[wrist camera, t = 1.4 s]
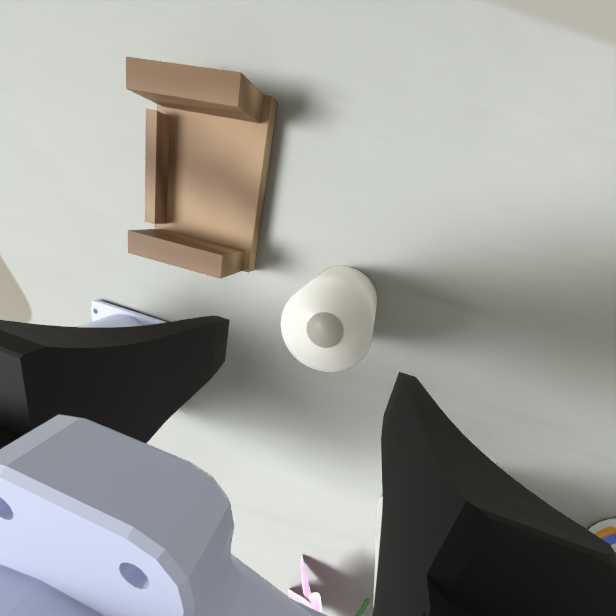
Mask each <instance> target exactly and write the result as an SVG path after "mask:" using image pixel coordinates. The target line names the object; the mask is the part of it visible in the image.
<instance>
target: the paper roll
mask: <svg viewBox="0 0 616 616" xmlns="http://www.w3.org/2000/svg"><path fill="white" fill-rule="evenodd" d="M376 307H377V295H376V291H375V288H374V286H373V284H372V282H371V281H370V280H369V278H368V277H367V276H366V275H364V274H363V273H362V272H360V271H359V270H357V269H354V268H351V267H347V266H336V267H331V268H329V269H326V270H324V271H323V272H321V273H320V274H319V275H318V276H316V277H315V278H314V279H313V280H311V281H310V282H309V283H308V284H307V285H305V286H304V287H303V288H302V289H300V290H299V291H298V292H297V293H296V294H294V295H293V296H292V297H291V298H290V300H289V301H288V302H287V304H286V306H285V308H284V310H283V313H282V317H281V332H282V336H283V339H284V342H285V344H286V346H287V348H288V349H289V351H290V352H291V353H292V355H293V356H294V357H295V358H296V359H298V360H299V361H300V362H301V363H303V364H304V365H306V366H308V367H310V368H313V369H315V370H319V371H324V372H337V371H342V370H345V369H348V368H350V367H352V366H354V365H355V364H357V363H358V362H359V361H360V360H361V359H362V358H363V357H364V356H365V355H366V353H367V351H368V350H369V347H370V345H371V341H372V337H373V329H374V322H375V314H376Z"/></svg>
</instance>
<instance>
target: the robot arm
mask: <svg viewBox="0 0 616 616" xmlns="http://www.w3.org/2000/svg"><path fill="white" fill-rule="evenodd" d="M91 310H92V322H90V323H87V324H84V325H81V326H78V327H62V326H49V325H38V324H29V323H21V322H13V321H4V320H0V616H327V615H325V614H323V613H320V612H318V611H316V610H314V609H312V608H310V607H308V606H306V605H304V604H302V603H299V602H297V601H295V600H293V599H291V598H289V597H288V596H286V595H285V594H284V593H282V592H281V591H280V590H279V589H277V588H276V587H275V586H273V585H272V584H271V583H269V582H268V581H267V580H265V579H264V578H263V577H261V576H260V575H259V574H257V573H256V572H255V571H253V570H252V569H251V568H249V567H248V566H247V565H245V564H244V563H243V562H241V561H240V560H239V559H238V558H236V557H235V556H234V555H232V554H231V542H232V536H233V530H234V523H233V517H232V511H231V505H230V501H229V499H228V497H227V496H226V494H225V493H224V491H223V490H222V489H221V487H220V486H219V485H218V483H217V482H216V480H215V479H214V478H213V477H212V476H211V475H209V474H208V473H206V472H205V471H203V470H202V469H200V468H199V467H197V466H196V465H194V464H192V463H191V462H189V461H187V460H184V459H182V458H179V457H177V456H175V455H172V454H170V453H167V452H165V451H163V450H160V449H158V448H155V447H153V446H151V445H148V444H146V443H147V442H148V441H149V440H150V439H151V437H152V436H153V435H154V434H155V433H156V432H157V431H158V429H159V428H160V427H161V426H162V425H163V424H164V423H165V422H166V421H167V420H168V419H169V418H170V417H171V416H172V415H173V414H174V413H175V412H176V411H177V410H178V409H179V408H180V407H181V406H182V405H183V404H184V403H185V402H187V401H188V400H189V399H190V398H191V397H192V396H193V395H194V394H195V393H196V392H197V391H198V390H200V389H201V388H202V387H203V386H204V385H205V384H206V383H207V382H208V381H209V380H210V379H211V378H212V377H213V376H214V374H215V373H216V372H217V371H218V369H219V368H220V367H221V366H222V364H223V363H224V362H225V354H226V346H227V337H228V329H229V320H228V319H225V318H222V317H218V316H207V317H199V318H193V319H186V320H180V321H174V322H167V323H166V322H165V321H162V320H159V319H156V318H153V317H150V316H147V315H143V314H140V313H137V312H134V311H131V310H128V309H125V308H122V307H119V306H115V305H112V304H109V303H106V302H103V301H100V300H95V301H92V303H91ZM97 310H98V311H97ZM381 450H382V487H383V507H382V521H381V535H380V546H379V558H378V569H377V579H376V589H375V599H374V608H373V616H616V553H615V551H614V550H613V548H612V547H611V545H610V544H609V543H607V542H606V541H604V540H603V539H601V538H600V537H598V536H596V535H595V534H593V533H592V532H590V531H589V530H587V529H585V528H584V527H582V526H581V525H579V524H578V523H576V522H574V521H573V520H571V519H570V518H568V517H567V516H565V515H563V514H562V513H560V512H559V511H557V510H556V509H554V508H553V507H551V506H550V505H549V504H547V503H546V502H544V501H543V500H542V499H540V498H539V497H537V496H536V495H535V494H533V493H532V492H530V491H529V490H528V489H526V488H525V487H524V486H522V485H521V484H520V483H518V482H517V481H516V480H514V479H513V478H512V477H511V476H509V475H508V474H507V473H506V472H504V471H503V470H502V469H501V468H500V467H498V466H497V465H496V464H495V463H493V462H492V461H491V460H490V459H489V458H488V457H487V456H485V455H484V454H483V453H482V452H481V451H480V450H479V449H478V448H477V447H476V446H475V445H474V444H473V443H472V442H470V441H469V440H468V439H467V438H466V437H465V436H464V435H463V434H462V433H461V432H460V430H459V429H458V428H457V427H456V426H455V425H454V424H453V423H452V422H451V420H450V419H449V418H448V417H447V416H446V415H445V414H444V412H443V411H442V410H441V409H440V408H439V406H438V405H437V404H436V402H435V401H434V400H433V399H432V397H431V396H430V395H429V393H428V392H427V391H426V389H425V388H424V387H423V386H422V384H421V383H420V382H419V380H418V379H417V378H416V377H414V376H410V375H407V374H404V373H401V372H399V374H398V377H397V380H396V383H395V385H394V388H393V391H392V394H391V396H390V399H389V402H388V405H387V408H386V410H385V413H384V418H383V426H382V436H381Z"/></svg>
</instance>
